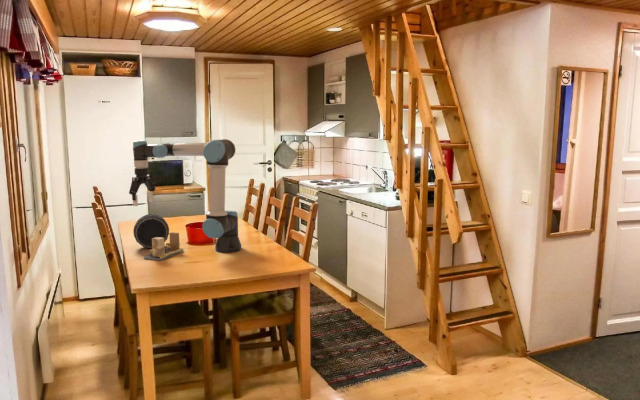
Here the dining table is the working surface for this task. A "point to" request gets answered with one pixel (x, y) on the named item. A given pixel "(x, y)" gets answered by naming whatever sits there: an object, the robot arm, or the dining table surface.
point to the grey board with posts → (169, 248)
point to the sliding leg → (158, 247)
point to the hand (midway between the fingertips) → (143, 204)
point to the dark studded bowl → (150, 229)
